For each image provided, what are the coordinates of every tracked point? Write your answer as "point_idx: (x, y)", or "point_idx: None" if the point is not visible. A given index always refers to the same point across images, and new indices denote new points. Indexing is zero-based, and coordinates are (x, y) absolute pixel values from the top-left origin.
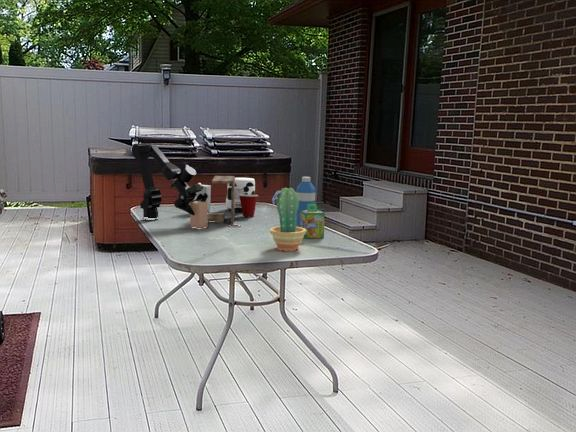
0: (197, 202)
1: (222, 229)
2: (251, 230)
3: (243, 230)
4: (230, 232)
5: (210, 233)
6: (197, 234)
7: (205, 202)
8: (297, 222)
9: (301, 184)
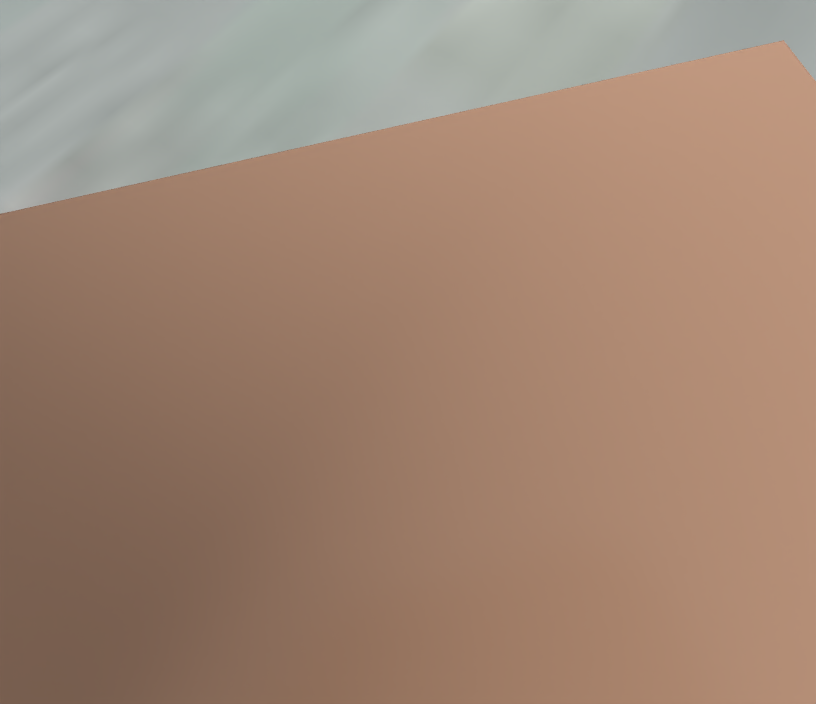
0: (805, 408)
1: None
2: (27, 57)
3: (89, 95)
4: (293, 84)
5: None
6: None
7: (181, 182)
8: None
9: None
